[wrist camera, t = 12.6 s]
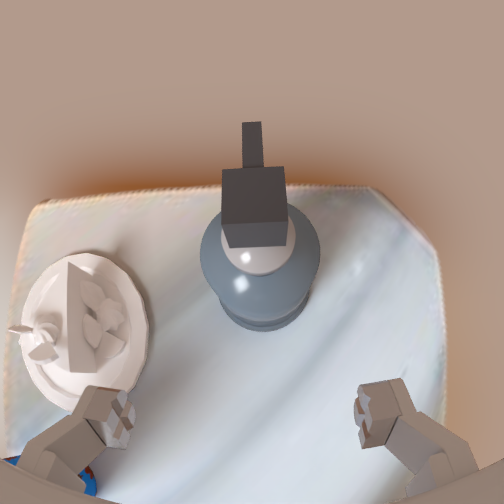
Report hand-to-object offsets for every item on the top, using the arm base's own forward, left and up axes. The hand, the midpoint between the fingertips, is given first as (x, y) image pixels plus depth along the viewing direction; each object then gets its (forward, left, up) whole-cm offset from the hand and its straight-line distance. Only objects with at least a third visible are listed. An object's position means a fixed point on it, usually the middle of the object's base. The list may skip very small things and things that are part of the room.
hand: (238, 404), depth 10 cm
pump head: (+7, -12, -12) cm, 18 cm away
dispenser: (+6, -10, -30) cm, 32 cm away
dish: (+26, +11, -31) cm, 41 cm away
